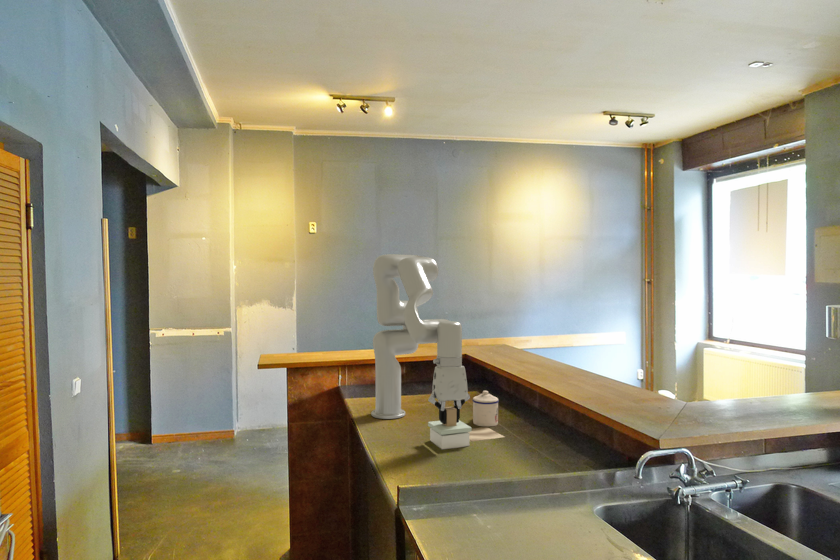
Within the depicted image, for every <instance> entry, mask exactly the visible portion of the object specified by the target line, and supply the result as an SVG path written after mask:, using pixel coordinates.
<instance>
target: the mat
mask: <svg viewBox="0 0 840 560" xmlns="http://www.w3.org/2000/svg"><path fill="white" fill-rule="evenodd" d="M500 438H505V436H504V435H503V434H500V433H499V432H497V431H495V430H493V429H491V428H489V426H481V427H475V428H472V431H471V432H469V442H479V441H487V440H494V439H500Z"/></svg>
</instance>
